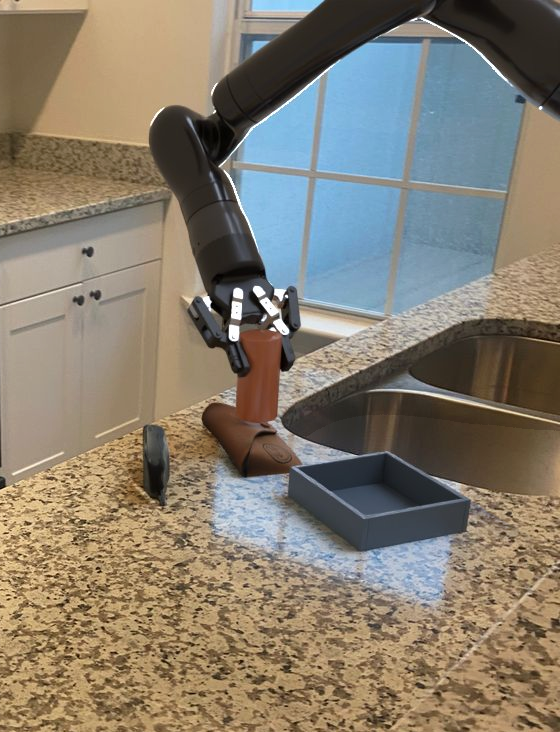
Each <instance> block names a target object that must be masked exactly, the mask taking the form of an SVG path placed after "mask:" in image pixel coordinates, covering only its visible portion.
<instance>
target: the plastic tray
mask: <svg viewBox="0 0 560 732" xmlns="http://www.w3.org/2000/svg"><path fill="white" fill-rule="evenodd" d="M287 484H288V485H287V498H289V499H290V500H291V501H292V502H294V503H295V504H296V505H298V506H299V507H301V508H302V510H304V511H306V512H307V513H308V514H310V515H311V516H312V517H314V518H315V519H316V520H318V521H319V522H320V523H321V524H323V525H324V526H326V527H327V528H328V529H329V530H331V531H332V532H333V533H335V534H336V535H337V536H338V537H340V538H341V539H342V540H344V541H345V542H346V543H348V545H350V546H352V547H353V548H354V549H356V550H357V551H358V552H359V553H362V552H368V551H373V550H377V549H382V548H383V549H384V548H387V547H389V548H390V547H395V546H399V545H404V544H410V543H415V542H420V541H425V540H430V539H435V538H441V537H446V536H451V535H456V534H463V533H466V532H467V530H468V524H469V523H468V522H469V517H470V510H471V504H472V499H470V498H469V497H467V496H466V495H464V494H462V493H460V492H458V491H457V490H455V489H454V488H452V487H450V486H448V485H447V484H445V483H444V482H442V481H440V480H439V479H437V478H435V477H433V476H431V475H429V474H428V473H426V472H425V471H423V470H422V469H419V468H418V467H416V466H414V465H412V464H411V463H410V462H408V461H405V460H404V459H402V458H401V457H399V456H397V455H396V454H394V453H392V452H391V451H388V450H384V451H379V452H372V453H365V454H360V455H354V456H353V455H352V456H348V457H347V456H346V457H341V458H334V459H329V460H324V461H317V462H311V463H304V464H303V465H298V466H291V467H290V470H289V473H288V483H287Z"/></svg>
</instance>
